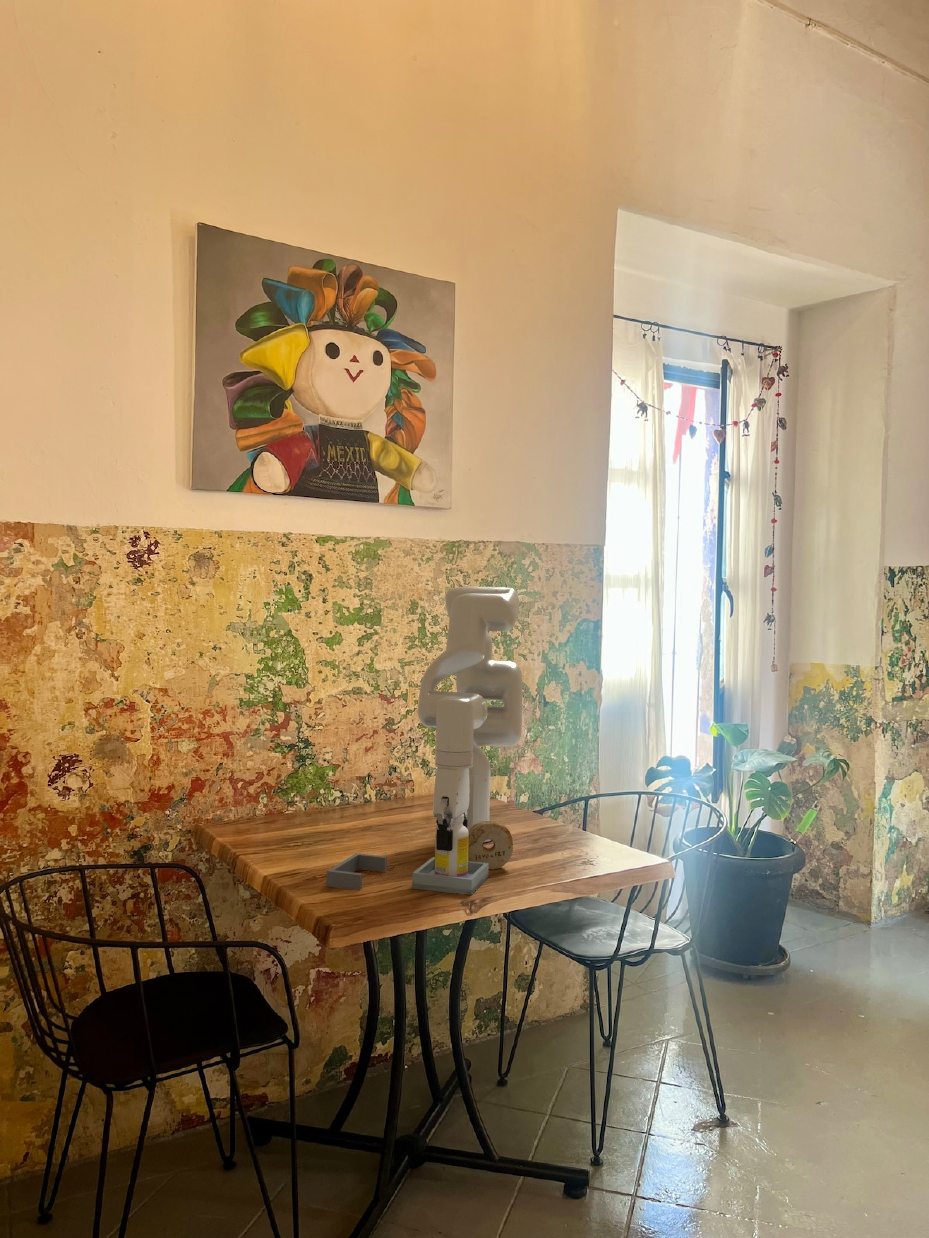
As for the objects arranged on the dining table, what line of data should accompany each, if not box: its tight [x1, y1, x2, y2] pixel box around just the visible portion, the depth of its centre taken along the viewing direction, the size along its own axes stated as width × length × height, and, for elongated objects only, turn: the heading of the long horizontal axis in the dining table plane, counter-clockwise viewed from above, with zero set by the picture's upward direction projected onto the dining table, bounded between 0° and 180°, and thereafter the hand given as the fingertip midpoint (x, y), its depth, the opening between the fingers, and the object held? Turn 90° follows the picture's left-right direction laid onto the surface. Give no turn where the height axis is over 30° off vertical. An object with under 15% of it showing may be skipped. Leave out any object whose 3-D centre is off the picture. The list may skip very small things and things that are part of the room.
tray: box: [411, 856, 489, 896], centre depth 183 cm, size 12×12×3 cm
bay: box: [326, 852, 388, 891], centre depth 184 cm, size 14×7×3 cm, turn 163°
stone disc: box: [468, 820, 514, 870], centre depth 194 cm, size 10×4×10 cm, turn 94°
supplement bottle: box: [434, 814, 469, 878], centre depth 183 cm, size 7×7×13 cm
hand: (451, 844), depth 183 cm, fingers open, 9 cm apart
